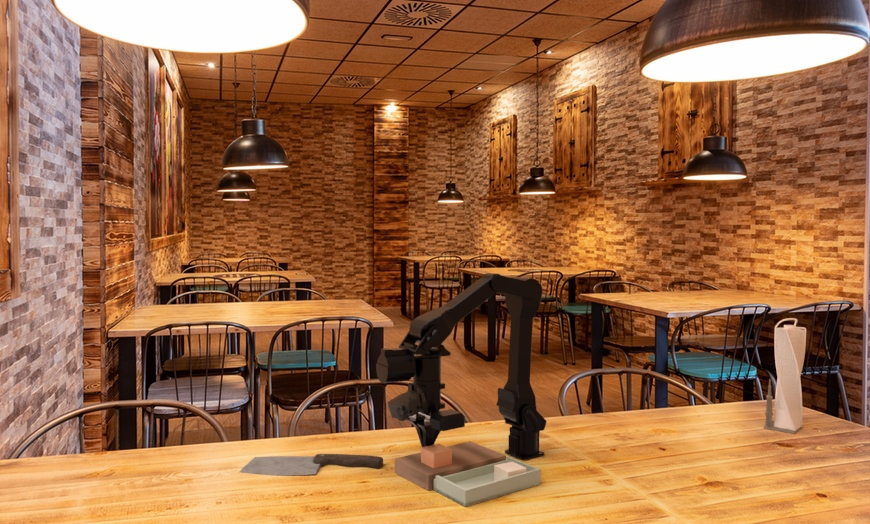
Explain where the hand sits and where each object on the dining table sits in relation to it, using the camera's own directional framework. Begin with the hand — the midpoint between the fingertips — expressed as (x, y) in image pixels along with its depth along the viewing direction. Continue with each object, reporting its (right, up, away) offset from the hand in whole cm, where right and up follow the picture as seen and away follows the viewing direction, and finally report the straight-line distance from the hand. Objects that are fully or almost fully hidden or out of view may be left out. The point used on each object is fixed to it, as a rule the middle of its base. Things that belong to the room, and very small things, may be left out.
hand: (426, 453), depth 138 cm
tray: (+12, -4, -8) cm, 15 cm away
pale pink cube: (+17, -1, -7) cm, 18 cm away
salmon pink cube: (+2, -1, -3) cm, 4 cm away
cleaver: (-24, -5, +3) cm, 25 cm away
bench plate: (+5, -4, +1) cm, 6 cm away
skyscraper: (+92, -3, +33) cm, 98 cm away
